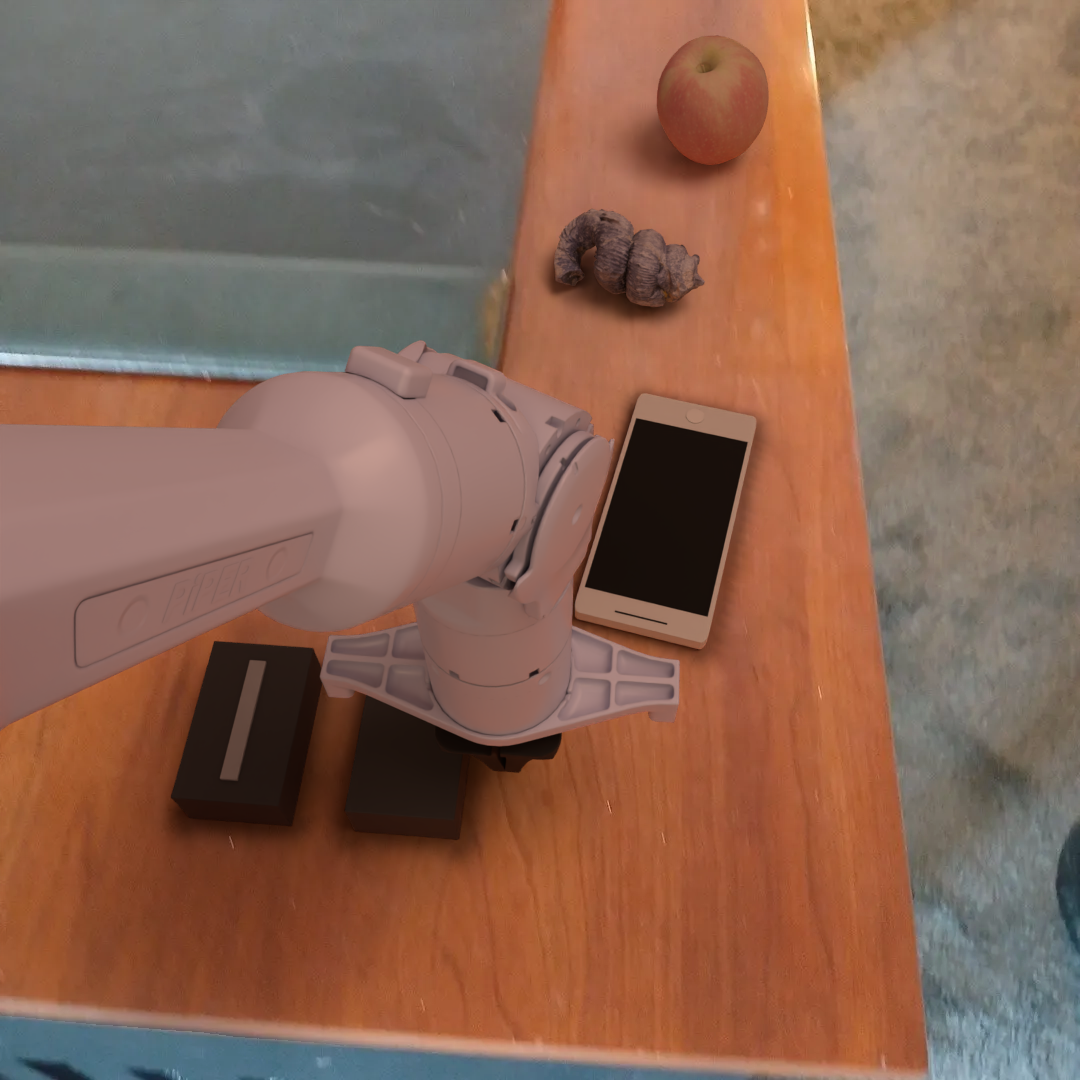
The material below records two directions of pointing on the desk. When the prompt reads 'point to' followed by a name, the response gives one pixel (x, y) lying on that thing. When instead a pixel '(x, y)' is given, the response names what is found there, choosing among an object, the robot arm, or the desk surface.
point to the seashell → (626, 259)
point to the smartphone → (667, 521)
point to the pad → (404, 777)
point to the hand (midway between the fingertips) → (508, 752)
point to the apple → (712, 99)
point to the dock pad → (249, 734)
